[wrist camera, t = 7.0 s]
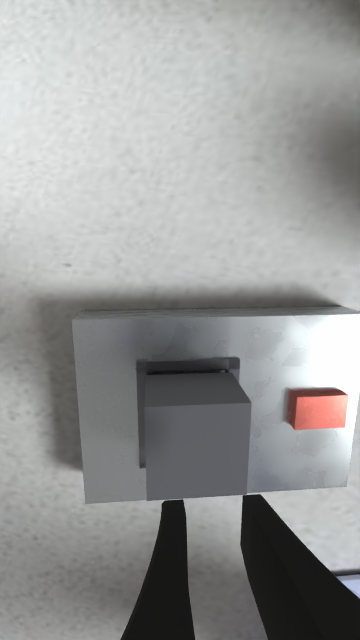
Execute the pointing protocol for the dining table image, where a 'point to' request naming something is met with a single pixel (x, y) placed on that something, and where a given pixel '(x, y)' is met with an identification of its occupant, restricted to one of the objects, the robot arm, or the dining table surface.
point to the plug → (196, 436)
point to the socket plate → (221, 357)
